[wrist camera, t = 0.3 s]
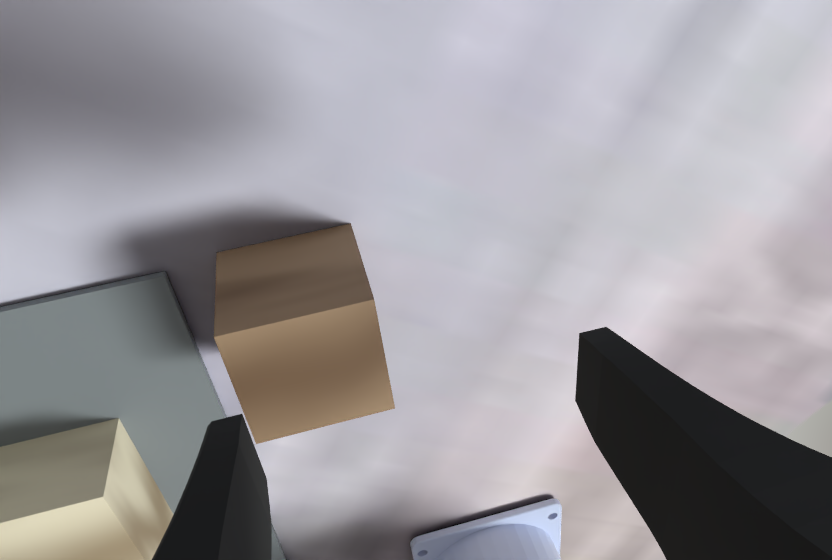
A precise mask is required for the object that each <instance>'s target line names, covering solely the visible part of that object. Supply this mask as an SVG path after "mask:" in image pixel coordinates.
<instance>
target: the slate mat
mask: <svg viewBox="0 0 832 560" xmlns="http://www.w3.org/2000/svg"><path fill="white" fill-rule="evenodd" d="M117 418H119V419H120V421H121V423H122V425H123V426H124V428H125V430H126V432H127V433H128V435H129V437H130V439H131V440H132V442H133V444H134V446H135V447H136V449H137V451H138V453H139V454H140V456H141V458H142V460H143V462H144V463H145V465H146V467H147V469H148V470H149V472H150V474H151V476H152V477H153V479H154V481H155V483H156V484H157V486H158V488H159V490H160V491H161V493H162V495H163V497H164V499H165V500H166V502H167V504H168V506H169V507H170V509H171V511H172V513H173V514H174V512H175V510H176V508H177V505H178V503H179V501H180V498H181V496H182V494H183V491H184V489H185V487H186V484H187V482H188V479H189V477H190V474H191V472H192V469H193V467H194V464H195V461H196V459H197V456H198V453H199V450H200V447H201V445H202V442H203V439H204V436H205V433H206V429H207V426H208V425H209V424H210V423H211V421H215V420H219V419H223V418H227V417H226V415H225V412H224V410H223V407H222V405H221V403H220V400H219V398H218V396H217V393H216V391H215V388H214V386H213V384H212V381H211V379H210V377H209V374H208V372H207V369H206V367H205V365H204V362H203V360H202V358H201V355H200V353H199V350H198V348H197V346H196V343H195V341H194V339H193V336H192V334H191V331H190V329H189V327H188V324H187V322H186V320H185V317H184V315H183V312H182V310H181V308H180V305H179V303H178V301H177V298H176V296H175V293H174V291H173V289H172V286H171V284H170V282H169V279H168V277H167V274H166V272H165V271H164V272H159V273H155V274H150V275H145V276H141V277H136V278H132V279H127V280H122V281H118V282H113V283H109V284H104V285H100V286H95V287H90V288H86V289H81V290H77V291H72V292H67V293H63V294H58V295H54V296H49V297H44V298H40V299H35V300H31V301H26V302H22V303H17V304H12V305H8V306H3V307H0V447H2V446H6V445H10V444H14V443H18V442H22V441H26V440H31V439H35V438H39V437H43V436H47V435H51V434H55V433H59V432H63V431H68V430H72V429H76V428H80V427H84V426H88V425H92V424H96V423H100V422H105V421H109V420H113V419H117ZM271 525H272V524H271ZM272 560H287V559H286V557H285V555H284V552H283V550H282V548H281V545H280V543H279V540H278V538H277V536H276V533H275V531H274V529H273V526H272Z"/></svg>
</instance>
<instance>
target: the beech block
mask: <svg viewBox="0 0 832 560" xmlns="http://www.w3.org/2000/svg"><path fill="white" fill-rule="evenodd" d="M173 515H174V514H173V513H172V511H171V509H170V507H169V506H168V504H167V502H166V500H165V499H164V497H163V495H162V493H161V491H160V490H159V488H158V486H157V484H156V483H155V481H154V479H153V477H152V476H151V474H150V472H149V470H148V469H147V467H146V465H145V463H144V462H143V460H142V458H141V456H140V454H139V453H138V451H137V449H136V447H135V446H134V444H133V442H132V440H131V439H130V437H129V435H128V433H127V432H126V430H125V428H124V426H123V425H122V423H121V421H120V419H119V418H117V419H113V420H109V421H105V422H100V423H96V424H92V425H88V426H84V427H80V428H76V429H72V430H68V431H63V432H59V433H55V434H51V435H47V436H43V437H39V438H35V439H31V440H26V441H22V442H18V443H14V444H10V445H6V446H2V447H0V560H152V558H153V556H154V554H155V552H156V550H157V548H158V546H159V544H160V542H161V540H162V538H163V536H164V534H165V532H166V530H167V528H168V526H169V523H170V521H171V519H172V517H173Z"/></svg>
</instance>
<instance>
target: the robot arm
mask: <svg viewBox="0 0 832 560" xmlns="http://www.w3.org/2000/svg"><path fill="white" fill-rule="evenodd" d="M575 401H576V403H577V405H578V407H579V409H580V412H581V414H582V416H583V418H584V421H585V423H586V425H587V427H588V429H589V431H590V433H591V435H592V437H593V439H594V441H595V443H596V445H597V446H598V448H599V450H600V451H601V453H602V454H603V456H604V458H605V459H606V461H607V462H608V464H609V466H610V467H611V469H612V470H613V472H614V474H615V475H616V477H617V478H618V480H619V481H620V483H621V485H622V486H623V488H624V489H625V491H626V492H627V494H628V496H629V497H630V499H631V500H632V502H633V504H634V505H635V507H636V508H637V510H638V511H639V513H640V515H641V516H642V518H643V519H644V521H645V522H646V524H647V526H648V527H649V529H650V530H651V532H652V534H653V536H654V537H655V539H656V541H657V542H658V544H659V546H660V548H661V549H662V551H663V553H664V555H665V557H666V559H667V560H832V457H829V456H827V455H825V454H822V453H819V452H817V451H815V450H813V449H810V448H808V447H806V446H804V445H802V444H799V443H797V442H795V441H793V440H791V439H789V438H787V437H785V436H783V435H780V434H778V433H776V432H774V431H772V430H770V429H768V428H766V427H764V426H762V425H760V424H758V423H756V422H754V421H753V420H751V419H749V418H747V417H745V416H743V415H741V414H740V413H738V412H736V411H734V410H733V409H731V408H729V407H727V406H726V405H724V404H722V403H721V402H719V401H717V400H715V399H714V398H712V397H710V396H709V395H707V394H705V393H704V392H702V391H700V390H699V389H697V388H696V387H694V386H692V385H691V384H689V383H688V382H686V381H685V380H683V379H682V378H680V377H679V376H677V375H675V374H674V373H672V372H671V371H669V370H668V369H666V368H665V367H663V366H662V365H660V364H659V363H658V362H656V361H655V360H653V359H652V358H650V357H649V356H647V355H646V354H644V353H643V352H642V351H640V350H639V349H637V348H636V347H634V346H633V345H632V344H630V343H629V342H627V341H626V340H624V339H623V338H622V337H620V336H619V335H617V334H616V333H614V332H613V331H611V330H610V329H608V328H607V327H604V328H600V329H595V330H591V331H587V332H583V333H579V350H578V366H577V383H576V399H575ZM561 512H562V507H561V504H560V502H559V500H557V499H548V500H545V501H541V502H537V503H534V504H530V505H527V506H523V507H520V508H516V509H513V510H509V511H505V512H502V513H498V514H495V515H491V516H488V517H484V518H480V519H477V520H473V521H470V522H466V523H463V524H459V525H455V526H452V527H448V528H445V529H441V530H438V531H434V532H431V533H427V534H423V535H420V536H417V537H415V538H414V539H412V541H411V543H410V545H411V550H412V555H413V560H561V558H560V539H561ZM152 560H272V525H271V515H270V505H269V496H268V487H267V479H266V476H265V473H264V471H263V468H262V465H261V463H260V460H259V457H258V455H257V452H256V449H255V447H254V444H253V442H252V439H251V436H250V434H249V431H248V428H247V426H246V423H245V420H244V418H243V415H242V414H240V415H236V416H232V417H227V418H223V419H219V420H215V421H211V423H210V424H209V425H208V426H207V429H206V433H205V436H204V439H203V442H202V445H201V447H200V450H199V453H198V456H197V459H196V461H195V464H194V467H193V469H192V472H191V474H190V477H189V479H188V482H187V484H186V487H185V489H184V491H183V494H182V496H181V498H180V501H179V503H178V505H177V508H176V510H175V512H174V515H173V517H172V519H171V521H170V523H169V526H168V528H167V530H166V532H165V534H164V536H163V538H162V540H161V542H160V544H159V546H158V548H157V550H156V552H155V554H154V556H153V558H152Z"/></svg>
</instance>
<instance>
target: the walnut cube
mask: <svg viewBox="0 0 832 560" xmlns="http://www.w3.org/2000/svg"><path fill="white" fill-rule="evenodd" d="M214 339H215V341H216V344H217V346H218V349H219V352H220V354H221V357H222V359H223V362H224V364H225V367H226V369H227V372H228V374H229V377H230V379H231V382H232V384H233V387H234V389H235V392H236V394H237V397H238V399H239V402H240V404H241V407H242V409H243V412H244V414H245V417H246V419H247V422H248V424H249V427H250V429H251V432H252V434H253V437H254V439H255V442H256V444H258V443H262V442H266V441H270V440H273V439H277V438H281V437H285V436H289V435H293V434H297V433H301V432H305V431H308V430H312V429H316V428H320V427H324V426H328V425H332V424H336V423H339V422H343V421H347V420H351V419H355V418H359V417H363V416H367V415H371V414H374V413H378V412H382V411H386V410H390V409H394V408H395V406H394V401H393V395H392V390H391V385H390V380H389V375H388V369H387V364H386V359H385V354H384V349H383V343H382V338H381V333H380V328H379V323H378V317H377V312H376V307H375V302H374V298H373V294H372V291H371V288H370V285H369V281H368V278H367V275H366V272H365V268H364V265H363V262H362V259H361V255H360V252H359V249H358V246H357V242H356V239H355V236H354V233H353V229H352V226H351V223H350V224H345V225H341V226H336V227H332V228H327V229H322V230H318V231H313V232H309V233H304V234H299V235H295V236H290V237H286V238H281V239H276V240H272V241H267V242H263V243H258V244H253V245H249V246H244V247H240V248H235V249H230V250H226V251H221V252H217V256H216V285H215V315H214Z"/></svg>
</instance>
